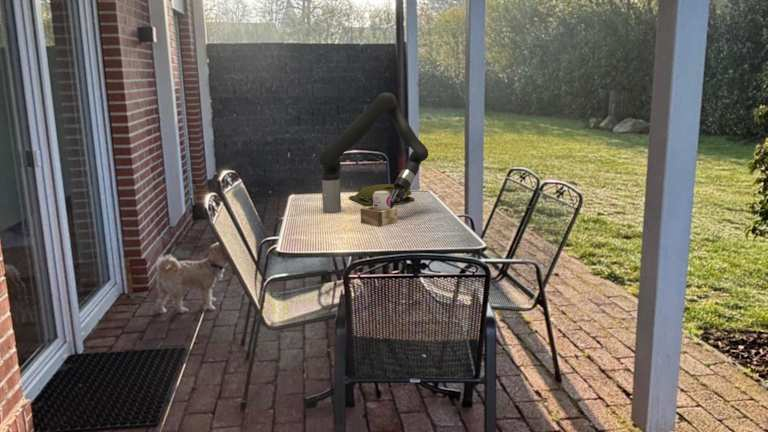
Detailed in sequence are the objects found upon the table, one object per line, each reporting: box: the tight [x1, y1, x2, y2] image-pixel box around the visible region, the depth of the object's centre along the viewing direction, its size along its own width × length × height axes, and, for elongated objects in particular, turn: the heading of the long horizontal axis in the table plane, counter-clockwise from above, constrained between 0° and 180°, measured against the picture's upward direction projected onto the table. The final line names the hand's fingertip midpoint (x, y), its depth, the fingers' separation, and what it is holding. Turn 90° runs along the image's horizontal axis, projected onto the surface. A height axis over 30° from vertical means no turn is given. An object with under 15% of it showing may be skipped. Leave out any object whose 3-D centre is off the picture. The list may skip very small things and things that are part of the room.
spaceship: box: [348, 183, 415, 207], centre depth 374 cm, size 35×31×10 cm
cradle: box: [360, 205, 398, 228], centre depth 316 cm, size 12×13×7 cm
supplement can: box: [372, 191, 390, 211], centre depth 316 cm, size 8×8×15 cm
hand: (388, 208), depth 320 cm, fingers closed
